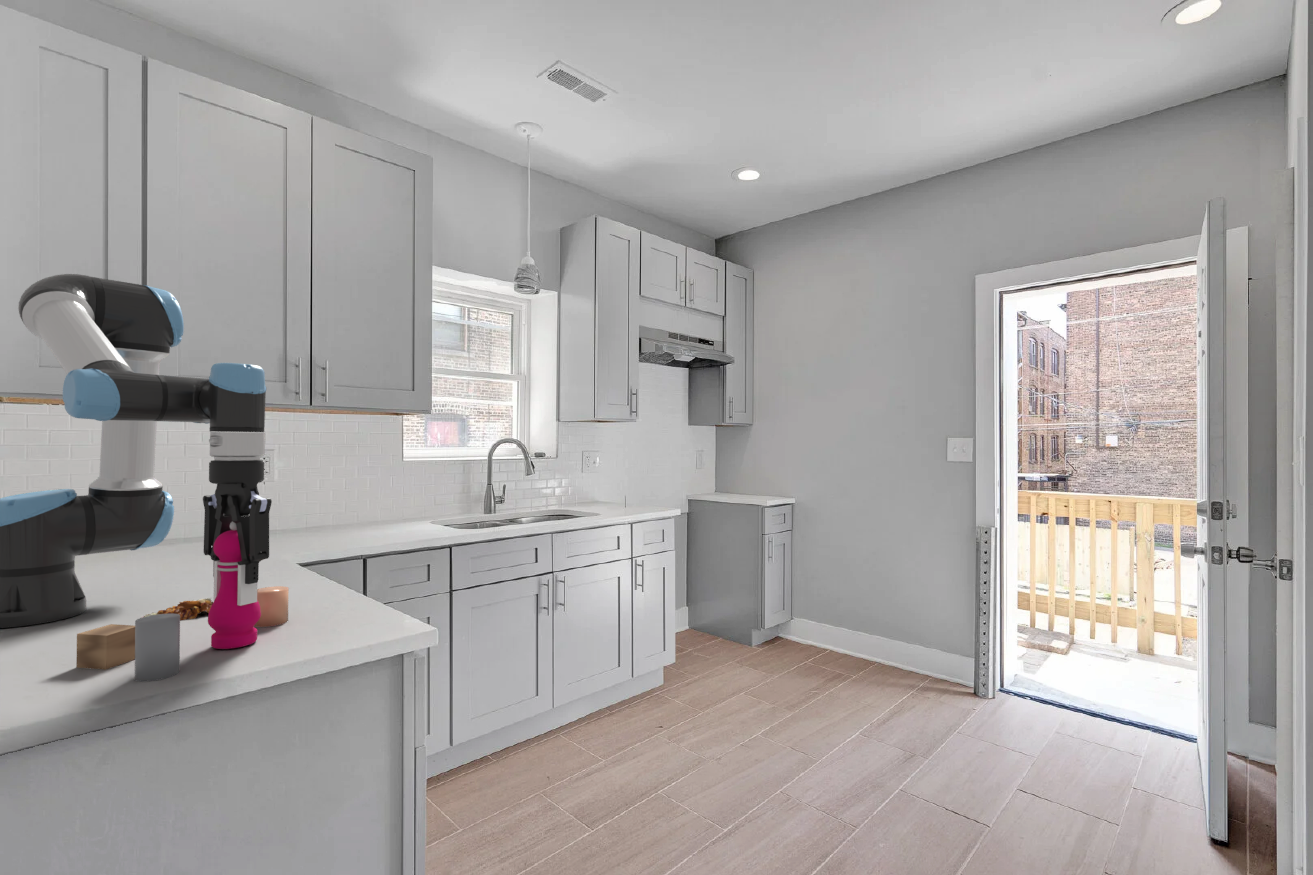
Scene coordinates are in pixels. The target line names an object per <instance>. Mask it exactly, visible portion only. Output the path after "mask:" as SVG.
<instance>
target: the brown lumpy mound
mask: <svg viewBox="0 0 1313 875" xmlns="http://www.w3.org/2000/svg"><path fill="white" fill-rule="evenodd" d="M213 602H214V601H212V598H211V597H207V598H200V599H197V600H194V599H193V600H183V601H179V602H178V604H177V605H172V607H167V608H166V609H161V610H157V612H151V613H146V614H145V615H143V617H146V616H151V615H158V614H179V615H180V622H181V621H186V620H193V619H196V618H197V617H198V615H199V614H201V613H203V612H206V613H208V614H209V611H210V608H211V606H212V604H213Z"/></svg>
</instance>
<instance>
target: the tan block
mask: <svg viewBox="0 0 1313 875" xmlns="http://www.w3.org/2000/svg"><path fill="white" fill-rule="evenodd" d="M134 659H135V624H134V625H133V624H132V625H131V624H130V625H129V624H112V623H110V624H107V625H103V626H100V627H95V628H93V629H89V630H86V631H82V632H79V633H76V661H75V662H76V666H75V667H76V669H90V668H91V670H93V669H94V670H104V671H105V670H109V669H112V668H114V667H117V666H120V664H121V665H123V664H127V663H128V662H132V661H135V660H134Z"/></svg>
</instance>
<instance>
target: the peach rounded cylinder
mask: <svg viewBox="0 0 1313 875" xmlns="http://www.w3.org/2000/svg"><path fill="white" fill-rule="evenodd" d="M289 589H290V588H289V587H288V586H281V585H278V586H266V587H260V588H257V600H258V602H259V605H260V609H261V617H260V619H259V620H258V622H257V623H256V624H255V625H254V626H253V627H254V628H266V627H267V628H268V627H276V626H280V625H284V624H286V623H287V621H288V622H289ZM275 625H276V626H275Z"/></svg>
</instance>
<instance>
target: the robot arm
mask: <svg viewBox="0 0 1313 875" xmlns="http://www.w3.org/2000/svg"><path fill="white" fill-rule="evenodd" d="M17 306H18V308H17V309H18V314H19V317H20V319H21V321H22V323H23V325H24V327H26V328H27V330H28V331H29V332H30V333H31V334H33V335H34V336H35V337H37V338H39V339H41V340H43V341H44V343H45V344H46V345H47V347H48V349H49V350H50V351H51V353H52V354H53V356H54V357H55V359H56V360H57V362H58V363H59V365H60V366H61V368H62V369H63V371H64V372H65V374H66V376H65V378H64V380H63V384H62V385H63V386H62V401H63V403H64V409H65V411H66V413H67V414H68V415H69V416H70V417H72V418H74V419H81V420H83V419H84V420H94V421H97V422H98V421H99V422H101V436H100V437H101V438H100V456H99V457H100V458H99V460H100V461H99V476H98V477H97V479H95V480H93V481H92V482H91V483H89V485H88V492H87V493H88V494H86V495H78V493H77V492H76V490H75V489H72V488H63V489H62V488H60V489H59V488H58V489H52V490H50V489H48V490H47V489H46V490H43V491H42V490H41V491H39V490H38V491H31V492H26V493H20V494H14V495H9V496H4V497H1V498H0V629H3V628H5V629H6V628H16V627H26V626H34V625H41V624H45V623H49V622H50V623H52V622H55V621H56V622H57V621H60V620H61V621H62V620H65V619H68V618H72V617H75V616H77V615H81V614H83V613H84V612H86V611H87V597H86V595H85V592H84V590H83V588H82V586H81V583H80V581H79V579H78V576H77V574H76V570H75V568H76V565H75V563H76V562H75V560H76V557H77V556H86V555H94V554H102V553H103V554H104V553H111V552H112V553H113V552H119V551H120V552H122V551H123V552H124V551H136V550H139V549H144V548H146V549H147V548H151V547H152V548H153V547H155V546H158V545H160V544H161V543H162V542H163V541H164V540H165V539H166V538H167V536H168V535H169V533H170V531H171V528H172V525H173V522H174V521H173V520H174V515H175V506H174V505H173V504H174V500H173V497H172V495H171V494H170V492H168V491H165V490H163V487H164V486H163V483H162V482H161V481H159V480H158V479H157V478H156V477H155V460H156V446H157V444H156V441H157V424H158V422H171V423H172V422H174V423H194V424H209V439H208V443H209V456H210V457H213V458H214V459H213V460H210V462H208V482H210V484H215V485H216V489H215V491H214V493H213V494H210V495H209V494H206V495H203V497H202V502H203V508H204V523H203V524H204V525H203V526H204V527H203V530H204V531H203V555H204V556H210V560H212V562H213V569H212V572H213V575H212V576H213V601H214V600H215V598H216V597H217V594H218V592H219V589H220V583H221V575H220V571H219V570H217V567H218V564H217V562H218V561H220V559H219V557H218V556H217V555H216V554H215V553H214V549H213V548H214V542H215V540H216V539H217V537H218V536H219V535H220V534H222V533H224V532H226V531H230V530H231V529H230V523H231V522H232V521H233V522H234V523H236V527H237V533H238V540H239V545H240V552H241V558H242V561H240V562H237V563H238V602H237V605H239V606H242V605H246V604H250V603H254V602H257V589H258V582H259V574H260V573H259V571H260V570H259V567H260V562H261V561H263V560H266V559H269V558H270V511H271V506H272V502H273V501H272V499H271V497H265V498H264V497H262V496H260V493H259V489H258V484H260V483H262V482H264V480H265V461H264V460H262V459H261V457H264V456H265V455H266V454H265V453H266V449H265V448H266V445H265V444H266V441H265V440H266V439H265V436H266V434H265V423H266V422H265V420H266V393H267V386H266V375H265V374H266V373H265V370H264V369H263V367H261V366H260V365H256V364H252V363H251V364H249V363H241V362H240V363H239V362H216V363H214V364H213V365H211V367H210V373H209V374H210V375H209V377H208V378H205V377H204V378H203V377H189V376H179V375H162V374H160V364H161V362H162V360H164V359H165V358H167V357H168V356H170V350H171V348H175V347H177V346H179V345H180V344H181V342H182V338H183V337H182V336H184V332H185V331H184V329H185V328H184V324H185V323H184V316H183V312H182V308H181V305H180V304H179V302H178V300H177V298H176V297H175V296H174V295H173V294H172V293H171V292H170V291H168V290H165V289H162V288H157V287H154V286H149V285H145V284H139V283H133V282H126V281H125V282H124V281H121V280H120V281H119V280H114V279H108V278H107V279H106V278H100V277H95V276H90V275H86V274H78V273H64V274H63V273H62V274H55V275H52V276H48V277H44V278H42V279H40V280H37V281H36V282H34V283H32V284H31V285H30V286H29V287H27V288H26V289H25V290H24V292H22V294H21V296H20V298H19V302H18V305H17ZM249 554H250V555H249Z"/></svg>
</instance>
